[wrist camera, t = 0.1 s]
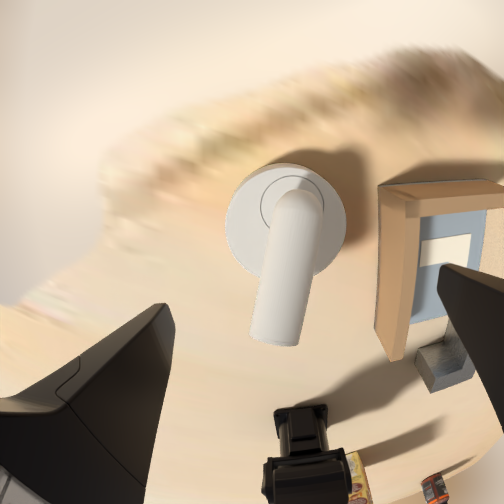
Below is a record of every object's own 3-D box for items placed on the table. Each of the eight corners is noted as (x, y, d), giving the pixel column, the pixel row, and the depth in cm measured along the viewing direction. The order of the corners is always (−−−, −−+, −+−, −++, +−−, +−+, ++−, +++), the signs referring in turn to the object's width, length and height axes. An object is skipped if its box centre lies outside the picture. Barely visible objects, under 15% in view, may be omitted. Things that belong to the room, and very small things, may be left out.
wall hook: (198, 348, 16) (228, 168, 12) (216, 272, 25) (240, 151, 21) (339, 368, 17) (406, 213, 13) (315, 290, 26) (350, 178, 22)
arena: (467, 305, 26) (490, 331, 22) (373, 328, 27) (390, 362, 23) (484, 178, 21) (518, 192, 16) (377, 185, 22) (405, 201, 17)
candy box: (332, 457, 38) (345, 538, 24) (357, 449, 37) (375, 530, 23) (343, 473, 41) (355, 542, 27) (365, 466, 41) (380, 535, 26)
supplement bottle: (417, 485, 50) (426, 518, 39) (424, 477, 47) (435, 511, 37) (435, 478, 49) (446, 510, 39) (444, 470, 47) (455, 502, 37)
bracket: (454, 351, 29) (472, 378, 25) (414, 363, 30) (430, 393, 25) (465, 312, 27) (487, 338, 22) (423, 324, 27) (443, 354, 23)
